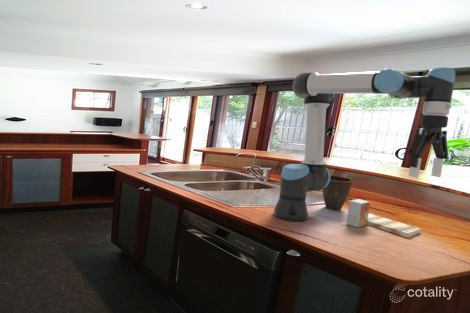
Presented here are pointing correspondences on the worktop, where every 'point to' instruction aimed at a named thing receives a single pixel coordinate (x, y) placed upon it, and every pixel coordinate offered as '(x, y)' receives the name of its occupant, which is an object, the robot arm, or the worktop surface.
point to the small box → (358, 212)
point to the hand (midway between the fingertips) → (424, 176)
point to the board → (392, 226)
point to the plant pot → (336, 192)
